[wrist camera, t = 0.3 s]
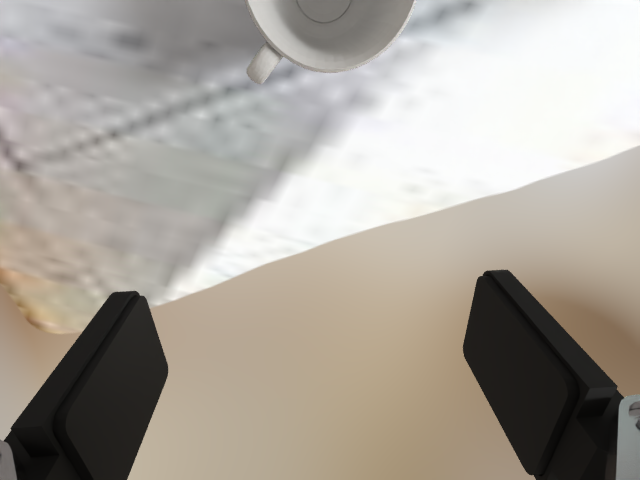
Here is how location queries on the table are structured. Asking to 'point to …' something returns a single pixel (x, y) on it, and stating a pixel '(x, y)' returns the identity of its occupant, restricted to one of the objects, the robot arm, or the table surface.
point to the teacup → (325, 32)
